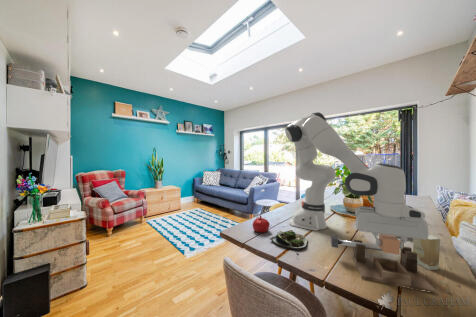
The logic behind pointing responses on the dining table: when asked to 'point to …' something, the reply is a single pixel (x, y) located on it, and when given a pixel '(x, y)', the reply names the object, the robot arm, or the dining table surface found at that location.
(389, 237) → the block
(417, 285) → the bearing bracket
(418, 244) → the skincare box
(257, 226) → the pomegranate
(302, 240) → the salad plate
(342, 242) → the shaft
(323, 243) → the dining table surface
